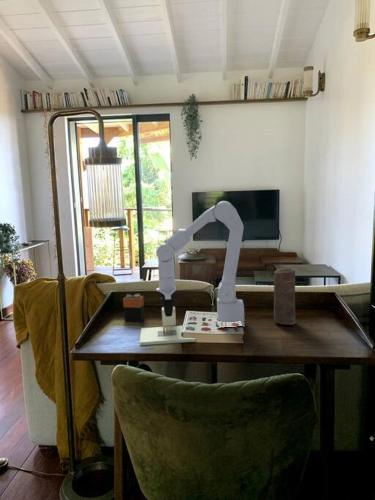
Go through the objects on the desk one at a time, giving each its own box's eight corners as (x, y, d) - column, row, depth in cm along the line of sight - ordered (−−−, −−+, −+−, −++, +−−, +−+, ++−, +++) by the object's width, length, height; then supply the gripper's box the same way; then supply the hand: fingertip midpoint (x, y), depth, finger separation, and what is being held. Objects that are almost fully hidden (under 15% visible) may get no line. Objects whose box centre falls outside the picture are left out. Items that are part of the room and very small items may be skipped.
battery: (141, 322, 145) (139, 296, 143) (124, 321, 147) (122, 296, 145) (145, 318, 149) (143, 293, 148) (128, 317, 151) (126, 292, 149)
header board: (192, 327, 138) (191, 318, 137) (195, 341, 126) (194, 330, 125) (141, 331, 137) (140, 321, 136) (139, 345, 125) (139, 334, 124)
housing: (175, 321, 144) (174, 306, 143) (175, 325, 141) (175, 309, 140) (162, 322, 144) (161, 307, 143) (162, 326, 140) (161, 310, 139)
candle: (286, 329, 133) (286, 272, 129) (269, 323, 139) (269, 269, 135) (299, 323, 138) (300, 268, 134) (282, 318, 143) (282, 265, 140)
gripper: (155, 272, 146) (157, 306, 148) (155, 282, 131) (157, 320, 134) (174, 271, 146) (175, 305, 149) (176, 281, 132) (177, 319, 134)
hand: (168, 312), depth 141 cm, fingers open, 7 cm apart
